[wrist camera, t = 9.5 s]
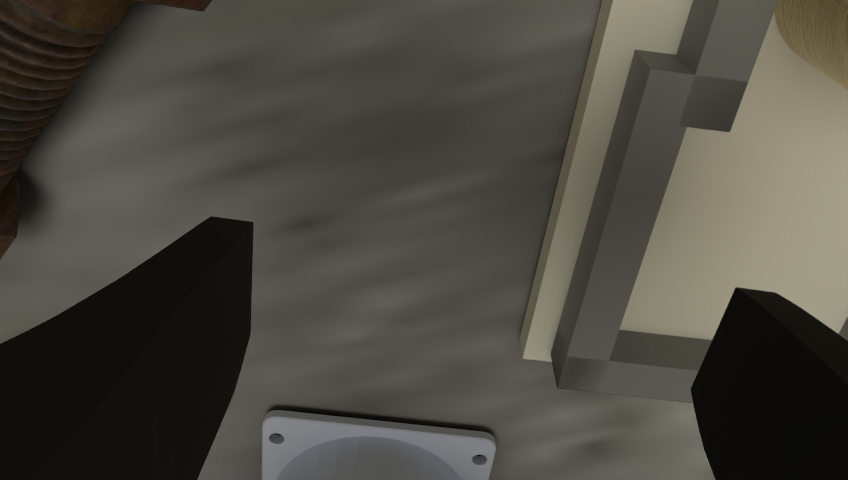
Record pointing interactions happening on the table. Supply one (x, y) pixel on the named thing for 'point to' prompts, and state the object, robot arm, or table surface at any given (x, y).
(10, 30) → the bolt
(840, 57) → the brass peg
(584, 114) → the keyhole plate
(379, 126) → the table surface
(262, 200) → the table surface
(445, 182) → the table surface
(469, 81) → the table surface
